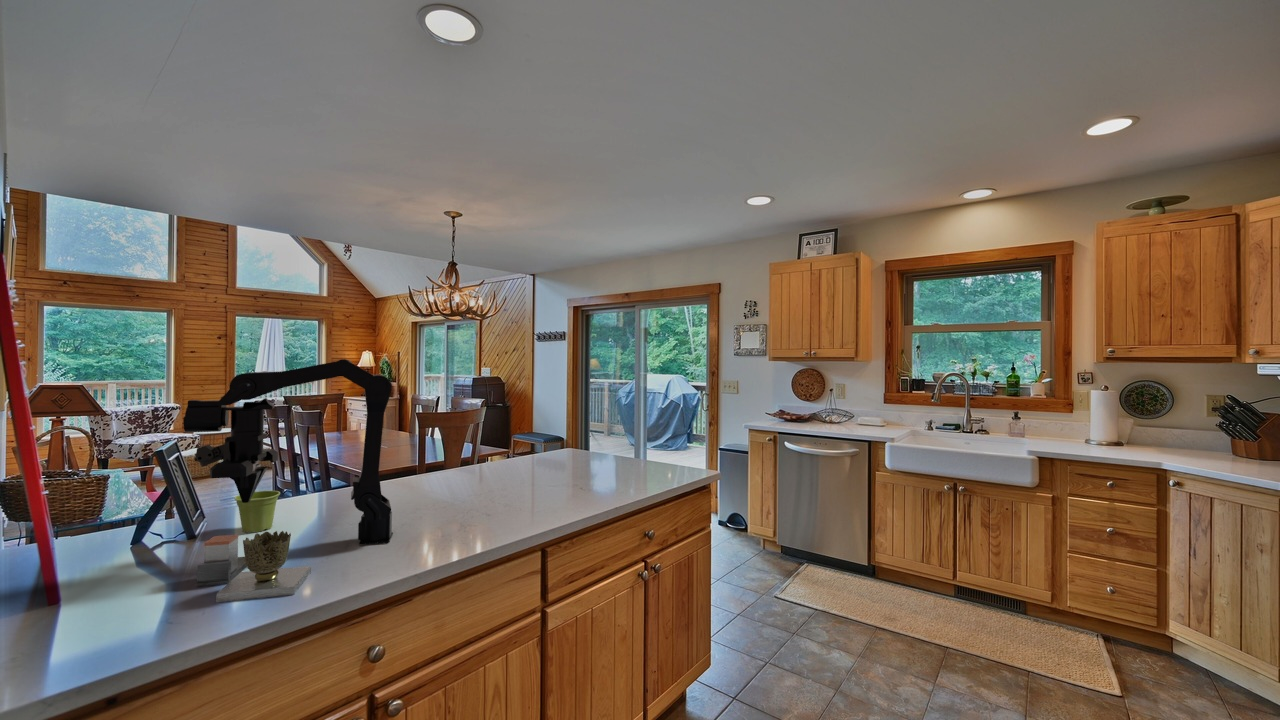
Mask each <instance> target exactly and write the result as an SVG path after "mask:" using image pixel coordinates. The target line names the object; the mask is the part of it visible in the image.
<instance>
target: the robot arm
mask: <svg viewBox="0 0 1280 720" xmlns="http://www.w3.org/2000/svg"><path fill="white" fill-rule="evenodd" d="M338 377H343V378H344V379H347V380H348V381H350V382H352V383H353V384H355V385H357V386H359V387H361V388H362V389H364V397H365V406H366V418H365V419H366V420H365V429H364V430H365V431H364V442H363V454H362V465H361V470H360V474H359V477H358V476H352V491H351V493H350V500H351V501H354V502H353V503H354V504H353V505H354V507H355V508H356V509H357V510H358V511H359V512H363V514H362V515H361V519H360V520H359V522H358V529H357V540H358V541H359V542H358V546H361V545H363V546H365V545H377V544H386V543H387V544H389V543H390V541H391V539H392V537H393V535H394V533H393V532H392V531H393V530H392V527H393V524H392V522H393V511H392V506H391V502H390V500H389V499H388V498H387V497H386V496H384V495H383V494H382V489H381V479H380V478H381V477H380V472H379V471H380V461H381V460H380V459H381V449H382V439H383V430H384V429H383V428H384V427H383V426H384V418H385V417H384V415H385V412H386V409H387V406H388V402H389V400H390V395H391V392H392V382H391V380H390V379H389V378H388V377H387V376H384V375H382V374H373V373H371V372H368V371H367V370H365V369H363V368H361V367H359V366H357V365H356V364H354V363H353V362H352V361H350V360H349V359H346V358H341V359H339V360H337V361H336V360H335V361H331V362H326V363H321V364H313V365H309V366H305V367H300V368H299V367H298V368H294V369H293V368H292V369H288V370H283V371H282V370H281V371H256V372H254V371H253V372H252V371H251V372H243V373H240V374H236V375H235V376H234V377H233V378H232V379H231V380H230V383H229V385H228V386H229V390H227V391H226V393H225V394H223V396H221V397H220V399H219V400H218V399H217V400H203V399H201V400H200V399H190V400H188V401H187V406H186V410H185V414H184V416H183V430H184V432H185V433H187V434H189V433H213V432H222V429H223V427H228V426H229V422H230V435H229V436H226V437H225V439H224V443H222V444H220V445H218V446H217V445H216V446H215V447H213V446H211V445H210V444H206V445H203V446H200V447H197V448H196V452H195V453H194V456H195V457H194V458H193V460H194V461H195V462H198V463H199V464H200V468H205V467H207V466H209V465H211V464H214V463H215V464H214V465H213V466H212V467H210V469H209V478H210V479H226V478H227V479H230V480H233V481H234V484H235V487H236V489H237V492H238V494H239V495H240V498H241V500H242V502H243V503H248V502H249V501H250V500H251V498H252V496H253V494H254V492H256V490H257V488H258V486H259V484H260V482H261V480H262V479H263V476H264V475H265V473H266V472H267V470H268V469H269V466H262V464H261V463H260V462H269V461H270V463H276V462H277V461H279V460H278V459H279V453H278V451H276V450H275V449H274V448H264V440H265V439H267V438H268V434H267V433H266V432H265V433H264V429H265V426H264V423H265V421H264V420H265V417H264V416H265V410H266V411H267V410H272V409H274V408H275V407H276V406H275V405H274V404H273V403H271V401H269V400H268V398H266V397H265V398H263V399H262V400H261V401H251V400H252V399H256V398H259V397H261V396H264V395H266V394H269V393H272V392H275V391H277V390H281V389H283V388H288V387H292V386H294V387H295V386H298V385H302V384H307V383H313V382H318V381H323V380H328V379H332V378H334V379H335V378H338ZM240 401H244V402H243V405H242V406H231V405H234V404H236V403H238V402H240ZM218 461H220V462H218Z"/></svg>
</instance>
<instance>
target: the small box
mask: <svg viewBox="0 0 1280 720" xmlns="http://www.w3.org/2000/svg"><path fill="white" fill-rule="evenodd" d="M203 546H204V547H203V548H204V550H203V551H204V553H203V557H204V558H203V563H210V562H223V561H231V572H233V571H234V570H235V569H236V568H237V567H238V557H239V555H238V554H239V534H225V535H214V536H212V537H211V538H210V539H208V540H207V541H205V542H204V545H203Z"/></svg>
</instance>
